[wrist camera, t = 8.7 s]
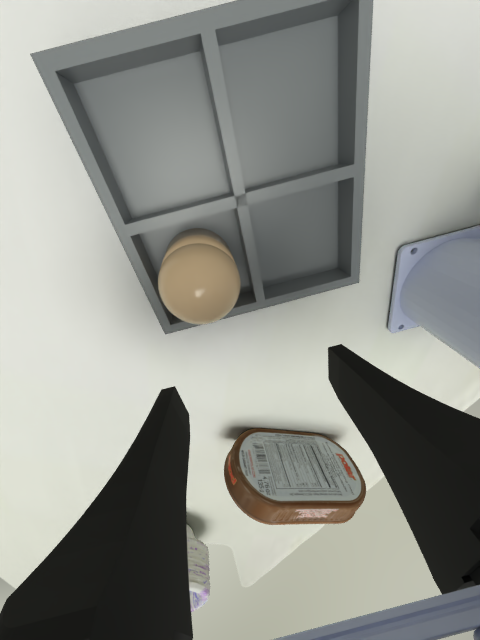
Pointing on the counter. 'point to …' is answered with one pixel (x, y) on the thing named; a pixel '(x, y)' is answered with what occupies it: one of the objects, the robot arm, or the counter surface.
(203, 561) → the paper bowls
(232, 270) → the egg
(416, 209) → the counter surface
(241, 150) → the grey compartment tray
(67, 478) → the counter surface
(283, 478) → the tin
